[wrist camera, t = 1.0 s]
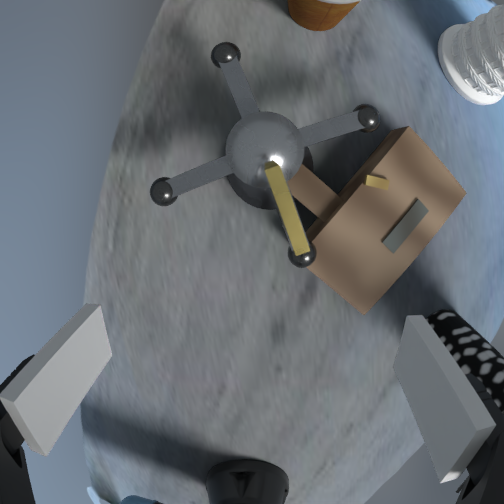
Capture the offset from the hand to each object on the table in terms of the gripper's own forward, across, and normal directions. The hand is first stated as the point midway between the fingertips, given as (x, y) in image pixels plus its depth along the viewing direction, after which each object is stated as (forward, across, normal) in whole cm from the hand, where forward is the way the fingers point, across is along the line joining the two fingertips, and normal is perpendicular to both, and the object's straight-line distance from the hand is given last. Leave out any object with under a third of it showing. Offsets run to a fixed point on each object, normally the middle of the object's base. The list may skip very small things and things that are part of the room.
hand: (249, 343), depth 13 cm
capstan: (+25, 0, -7) cm, 26 cm away
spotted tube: (+24, -25, +16) cm, 39 cm away
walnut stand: (+25, -10, -2) cm, 27 cm away
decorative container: (+27, -27, -22) cm, 44 cm away
